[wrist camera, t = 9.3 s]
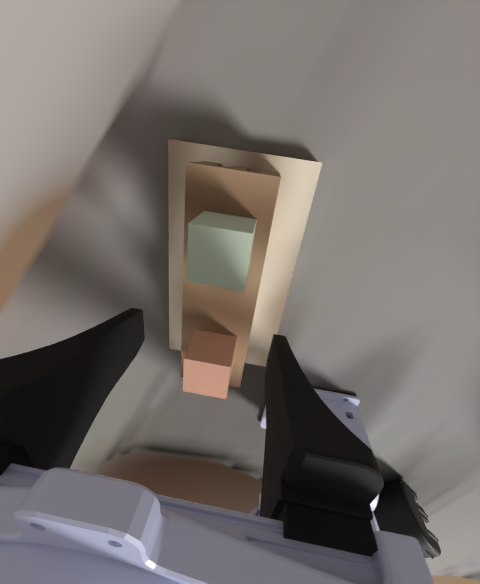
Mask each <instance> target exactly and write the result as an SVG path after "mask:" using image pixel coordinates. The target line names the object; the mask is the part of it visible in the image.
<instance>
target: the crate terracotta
mask: <svg viewBox="0 0 480 584" xmlns="http://www.w3.org/2000/svg"><path fill="white" fill-rule="evenodd" d="M236 341H237V337H236V336H230V335H225V334H219V333H213V332H208V331H202V330H196V332H195V334H194V337H193V339H192V341H191V343H190V346H189V348H188V350H187V352H186V354H185V357H184V365H183V391H186V392H191V393H196V394H202V395H207V396H212V397H218V398H223V399H226V397H227V392H228V387H229V382H230V377H231V372H232V367H233V360H234V354H235V348H236Z"/></svg>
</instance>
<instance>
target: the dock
mask: <svg viewBox="0 0 480 584" xmlns="http://www.w3.org/2000/svg"><path fill="white" fill-rule="evenodd" d="M197 161H207V162H213V163H220V164H222V166H223V167H231V166H239V167H245V168H249V171H254V172H260V171H261V170H264V171H271V172H277V173H280V176H281V180H280V185H279V190H278V195H277V200H276V205H275V210H274V215H273V221H272V226H271V231H270V236H269V241H268V246H267V251H266V256H265V261H264V266H263V271H262V277H261V282H260V287H259V292H258V297H257V302H256V307H255V312H254V317H253V322H252V327H251V333H250V338H249V343H248V348H247V353H246V358H245V363H248V364H253V365H259V366H264V367H266V362H267V358H268V354H269V350H270V346H271V342H272V338H273V334H276V335H277V333H278V329H279V325H280V321H281V317H282V314H283V310H284V306H285V302H286V298H287V295H288V291H289V287H290V283H291V280H292V276H293V272H294V268H295V264H296V261H297V257H298V253H299V249H300V245H301V242H302V238H303V234H304V230H305V226H306V223H307V219H308V215H309V211H310V208H311V204H312V200H313V196H314V192H315V189H316V185H317V181H318V177H319V173H320V170H321V166H322V163H321V162H314V161H308V160H302V159H295V158H289V157H282V156H276V155H269V154H263V153H256V152H250V151H243V150H237V149H230V148H224V147H217V146H211V145H204V144H198V143H191V142H185V141H179V140H172V139H168V206H169V349H174V350H179V351H181V338H182V298H183V257H184V217H185V176H186V162H197Z"/></svg>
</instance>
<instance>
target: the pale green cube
mask: <svg viewBox="0 0 480 584" xmlns="http://www.w3.org/2000/svg"><path fill="white" fill-rule="evenodd" d="M256 221H257V219H252V218H245V217H239V216H233V215H227V214H220V213H214V212H208V211H204V212H202V213H201V214H200V215H198V216H197V217H196V218H194V219H193V220H192V221H190V222H189V223H188V251H187V281H188V282H194V283H200V284H206V285H212V286H217V287H223V288H229V289H235V290H241V291H244V288H245V284H246V279H247V275H248V270H249V265H250V259H251V253H252V246H253V240H254V234H255V228H256Z"/></svg>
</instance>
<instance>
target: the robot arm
mask: <svg viewBox="0 0 480 584" xmlns="http://www.w3.org/2000/svg"><path fill="white" fill-rule="evenodd" d="M144 339H145V338H144V323H143V310H140V309H135V308H131V309H129V310H126V311H124V312H122V313H120V314H119V315H117V316H115V317H113V318H111V319H109V320H107V321H105V322H103V323H101V324H99V325H97V326H95V327H93V328H91V329H88V330H86V331H84V332H82V333H80V334H78V335H75V336H73V337H70V338H68V339H65V340H63V341H60V342H57V343H55V344H52V345H49V346H46V347H43V348H39V349H36V350H33V351H30V352H27V353H23V354H19V355H15V356H12V357H7V358H3V359H0V584H434V582H433V579H432V576H431V574H430V571H429V568H428V566H427V563H426V561H425V558H424V555H423V553H422V550H421V547H420V545H419V542H418V540H417V539H416V538H414V537H411V536H406V535H401V534H396V533H392V532H387V531H380V529H379V526H378V524H377V521H376V518H375V515H374V513H373V511H374V510H375V508H376V506H377V503H378V498H379V493H380V492H381V490H382V488H383V486H384V480H383V477H382V475H381V472H380V469H379V466H378V463H377V461H376V459H375V457H374V454H373V451H372V448H371V445H370V442H369V439H368V436H367V433H366V430H365V428H364V425H363V422H362V419H361V416H360V413H359V410H358V407H357V406H358V404H359V403H360V400H359V398H358V397H356V396H352V395H347V394H341V393H336V392H331V391H326V390H320V389H315V388H313V387H312V386H311V384H310V383H309V381H308V379H307V378H306V376H305V375H304V373H303V371H302V369H301V368H300V366H299V364H298V362H297V360H296V358H295V356H294V354H293V352H292V350H291V348H290V346H289V343H288V341H287V338H286V337H285V336H282V335H276V334H273V338H272V342H271V346H270V350H269V354H268V358H267V362H266V372H265V400H266V405H265V408H264V412H263V415H262V419H261V422H260V426H261V427H262V428H265V429H266V438H265V453H264V467H263V480H262V492H261V493H260V499H259V507H256V508H254V509H253V510H252V511H251V512H250V514H246V513H242V512H237V511H232V510H228V509H223V508H218V507H213V506H209V505H204V504H199V503H195V502H190V501H186V500H181V499H176V498H172V497H167V496H162V495H158V494H155V493H154V492H152V491H151V490H149V489H148V488H146V487H145V486H142V485H139V484H136V483H133V482H130V481H125V480H121V479H116V478H112V477H107V476H102V475H97V474H93V473H88V472H83V471H79V470H74V469H70V467H71V464H72V462H73V460H74V458H75V456H76V454H77V452H78V450H79V448H80V446H81V444H82V442H83V440H84V438H85V436H86V434H87V432H88V430H89V428H90V427H91V425H92V423H93V421H94V419H95V417H96V415H97V414H98V412H99V410H100V408H101V407H102V405H103V403H104V401H105V400H106V398H107V396H108V395H109V393H110V392H111V390H112V389H113V387H114V386H115V384H116V383H117V382H118V380H119V379H120V377H121V376H122V375H123V373H124V372H125V370H126V369H127V368H128V366H129V365H130V363H131V362H132V361H133V359H134V358H135V356H136V355H137V353H138V351H139V349H140V347H141V345H142V343H143V341H144Z"/></svg>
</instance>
